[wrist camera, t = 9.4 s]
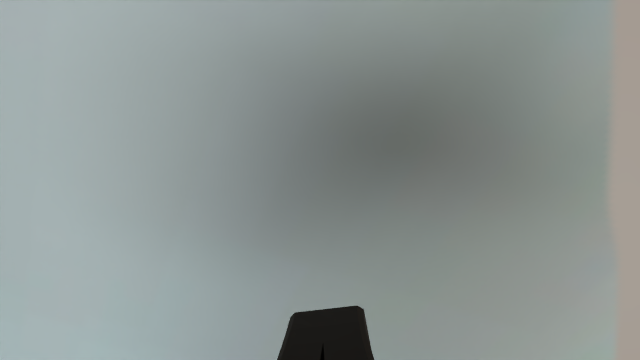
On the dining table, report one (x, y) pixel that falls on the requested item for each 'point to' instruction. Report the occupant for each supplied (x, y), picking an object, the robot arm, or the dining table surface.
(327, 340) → the robot arm
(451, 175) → the dining table surface
